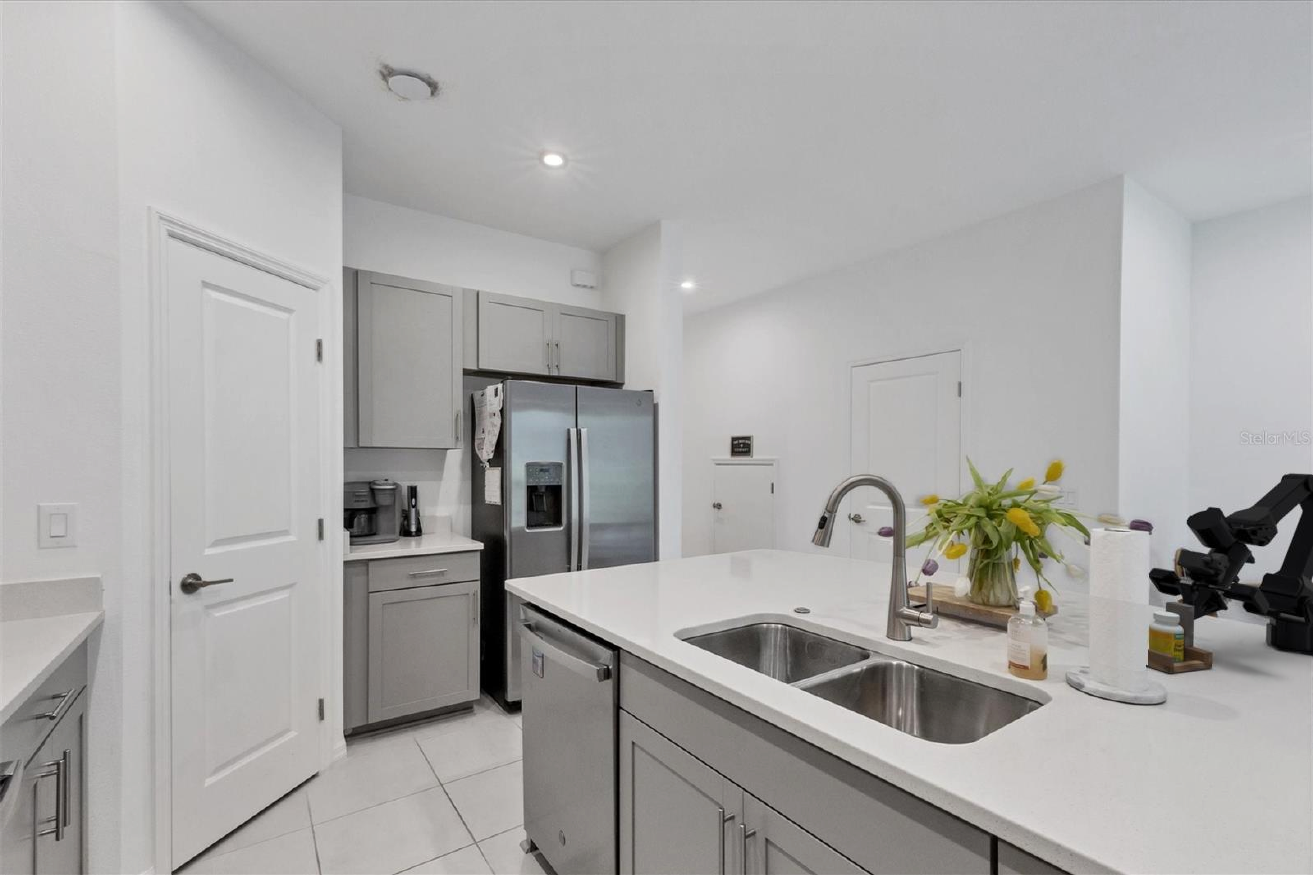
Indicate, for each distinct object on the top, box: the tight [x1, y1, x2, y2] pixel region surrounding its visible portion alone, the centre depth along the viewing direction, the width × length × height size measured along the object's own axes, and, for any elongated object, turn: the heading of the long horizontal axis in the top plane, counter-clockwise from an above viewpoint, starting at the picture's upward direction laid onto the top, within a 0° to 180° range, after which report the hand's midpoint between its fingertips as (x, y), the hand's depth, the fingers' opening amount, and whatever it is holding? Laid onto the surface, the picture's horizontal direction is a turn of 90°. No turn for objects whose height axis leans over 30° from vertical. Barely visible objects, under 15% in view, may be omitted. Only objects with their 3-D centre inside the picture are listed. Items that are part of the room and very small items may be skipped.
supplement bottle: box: [1148, 610, 1184, 663], centre depth 121 cm, size 5×5×10 cm
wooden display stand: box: [1147, 601, 1213, 674], centre depth 121 cm, size 12×10×11 cm
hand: (1184, 620), depth 123 cm, fingers closed, pressing on wooden display stand
